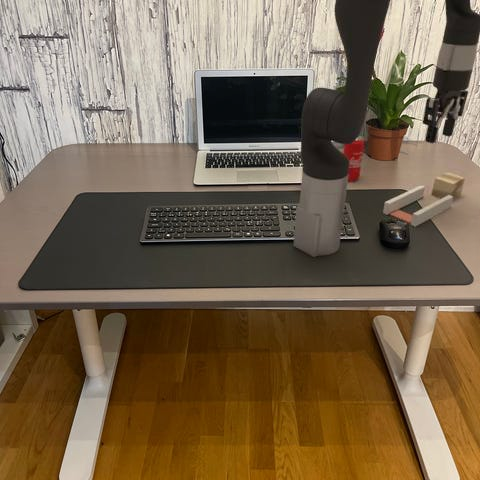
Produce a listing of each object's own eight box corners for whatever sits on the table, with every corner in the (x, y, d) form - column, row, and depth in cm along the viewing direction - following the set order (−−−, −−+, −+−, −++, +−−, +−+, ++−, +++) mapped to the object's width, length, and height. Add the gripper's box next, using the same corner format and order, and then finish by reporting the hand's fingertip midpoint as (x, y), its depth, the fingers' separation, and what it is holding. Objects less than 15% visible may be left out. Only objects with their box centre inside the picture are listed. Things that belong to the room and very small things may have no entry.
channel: (415, 226, 115) (417, 215, 114) (382, 213, 121) (384, 202, 120) (450, 207, 124) (453, 196, 123) (418, 195, 130) (421, 185, 129)
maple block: (448, 201, 127) (453, 183, 125) (431, 195, 131) (435, 177, 128) (460, 195, 131) (465, 178, 128) (443, 189, 134) (447, 172, 132)
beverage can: (358, 175, 142) (363, 134, 136) (360, 182, 137) (365, 141, 131) (339, 174, 142) (344, 134, 136) (341, 181, 138) (346, 140, 132)
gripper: (455, 59, 114) (440, 129, 122) (421, 66, 106) (407, 141, 114) (487, 64, 109) (469, 136, 117) (453, 72, 101) (436, 149, 109)
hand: (438, 138), depth 115 cm, fingers open, 7 cm apart
